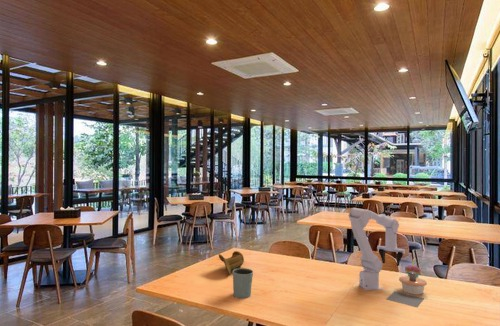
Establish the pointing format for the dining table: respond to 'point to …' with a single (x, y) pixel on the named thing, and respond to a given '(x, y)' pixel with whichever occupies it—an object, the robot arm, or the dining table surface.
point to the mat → (405, 299)
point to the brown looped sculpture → (232, 261)
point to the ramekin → (413, 289)
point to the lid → (412, 280)
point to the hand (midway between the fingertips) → (390, 264)
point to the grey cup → (242, 282)
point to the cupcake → (413, 269)
